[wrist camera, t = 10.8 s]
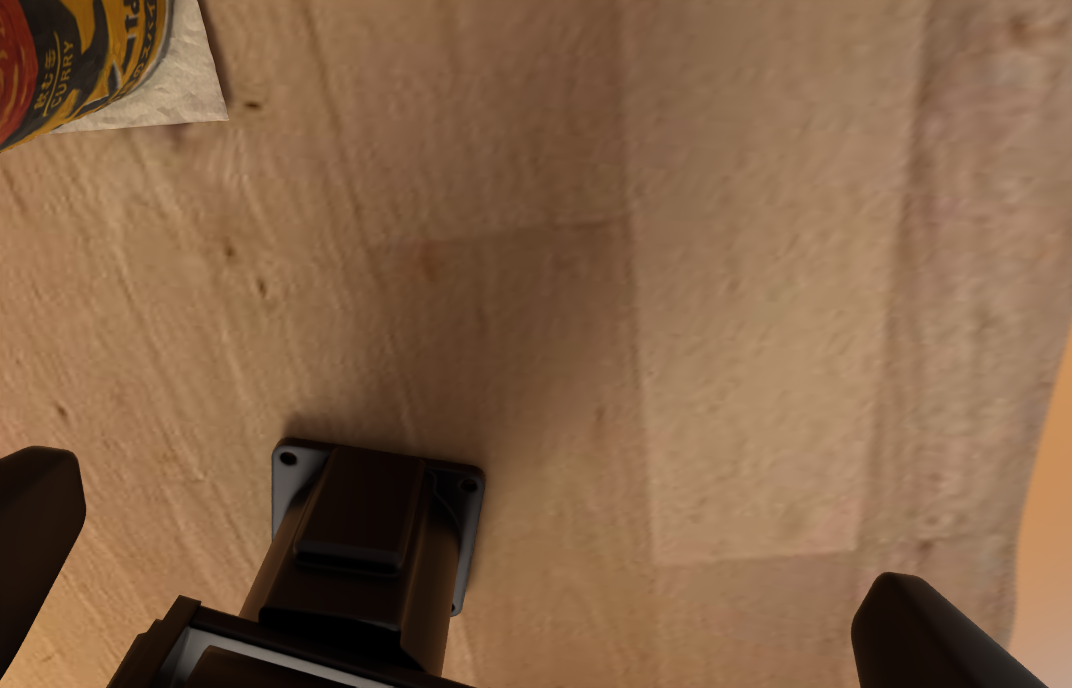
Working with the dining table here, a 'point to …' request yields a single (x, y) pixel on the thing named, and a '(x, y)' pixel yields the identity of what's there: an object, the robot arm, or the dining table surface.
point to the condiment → (103, 67)
